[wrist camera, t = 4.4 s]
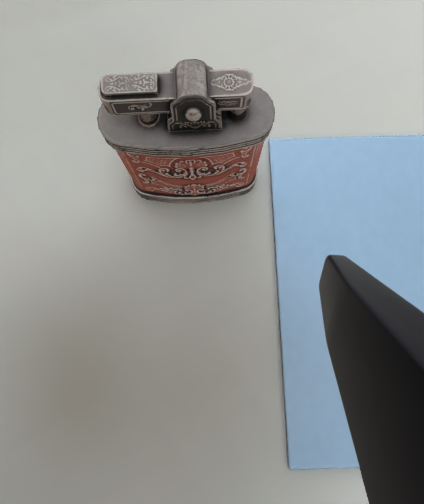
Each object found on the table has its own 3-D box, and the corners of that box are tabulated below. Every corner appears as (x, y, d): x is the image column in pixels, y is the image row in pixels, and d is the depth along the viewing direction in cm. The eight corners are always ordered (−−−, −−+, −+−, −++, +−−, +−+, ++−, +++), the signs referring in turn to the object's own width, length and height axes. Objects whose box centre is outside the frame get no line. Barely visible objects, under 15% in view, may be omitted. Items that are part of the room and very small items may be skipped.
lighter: (254, 151, 24) (282, 33, 14) (257, 200, 23) (289, 112, 13) (133, 157, 24) (76, 43, 14) (133, 206, 23) (74, 122, 13)
